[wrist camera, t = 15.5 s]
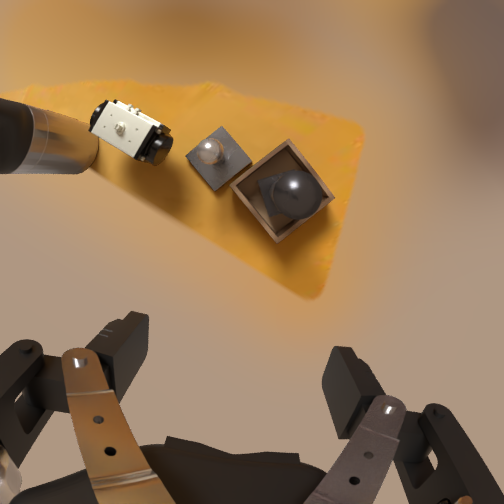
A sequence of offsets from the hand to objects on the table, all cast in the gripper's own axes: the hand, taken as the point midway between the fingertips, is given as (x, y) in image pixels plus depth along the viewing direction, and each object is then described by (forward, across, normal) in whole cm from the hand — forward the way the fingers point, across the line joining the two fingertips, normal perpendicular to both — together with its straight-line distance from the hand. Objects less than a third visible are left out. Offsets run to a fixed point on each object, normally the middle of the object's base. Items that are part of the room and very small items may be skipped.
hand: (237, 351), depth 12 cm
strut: (+32, -3, -7) cm, 33 cm away
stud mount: (+34, +6, -10) cm, 36 cm away
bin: (+33, -4, -7) cm, 34 cm away
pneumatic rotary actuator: (+34, +18, -12) cm, 40 cm away
